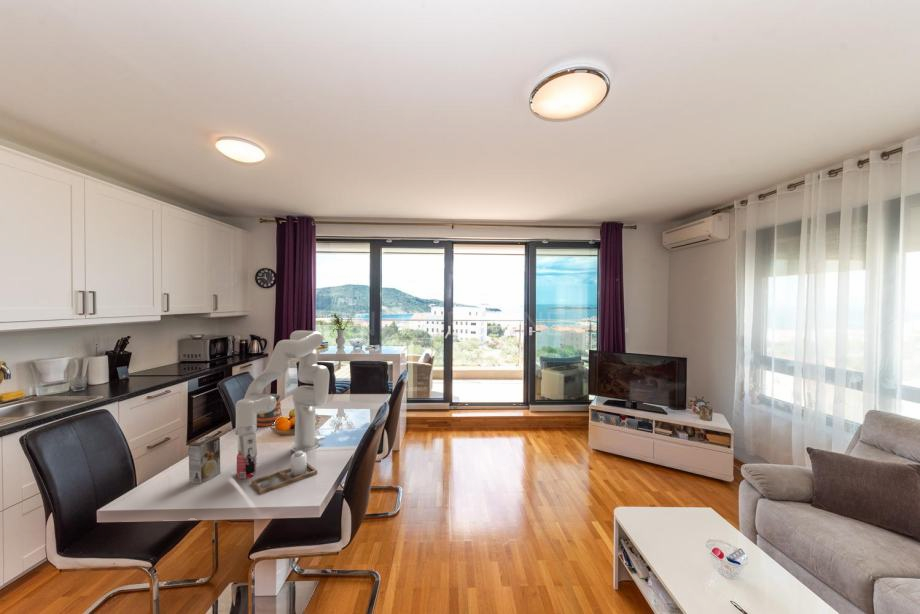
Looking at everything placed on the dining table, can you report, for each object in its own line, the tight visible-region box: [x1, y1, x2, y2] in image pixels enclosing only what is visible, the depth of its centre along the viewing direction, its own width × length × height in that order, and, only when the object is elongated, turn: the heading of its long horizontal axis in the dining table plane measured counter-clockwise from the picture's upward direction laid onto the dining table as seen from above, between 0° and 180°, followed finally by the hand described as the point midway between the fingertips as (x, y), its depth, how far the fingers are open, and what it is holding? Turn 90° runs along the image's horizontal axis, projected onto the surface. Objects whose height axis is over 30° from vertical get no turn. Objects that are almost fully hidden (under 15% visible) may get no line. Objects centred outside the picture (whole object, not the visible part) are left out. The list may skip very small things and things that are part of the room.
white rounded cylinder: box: [290, 451, 308, 477], centre depth 148 cm, size 6×6×9 cm
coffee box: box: [188, 435, 221, 484], centre depth 147 cm, size 9×6×16 cm
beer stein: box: [257, 393, 283, 428], centre depth 214 cm, size 19×15×20 cm
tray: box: [250, 462, 318, 495], centre depth 144 cm, size 22×14×3 cm, turn 137°
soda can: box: [236, 451, 257, 480], centre depth 147 cm, size 7×7×12 cm
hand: (246, 469), depth 147 cm, fingers open, 9 cm apart
